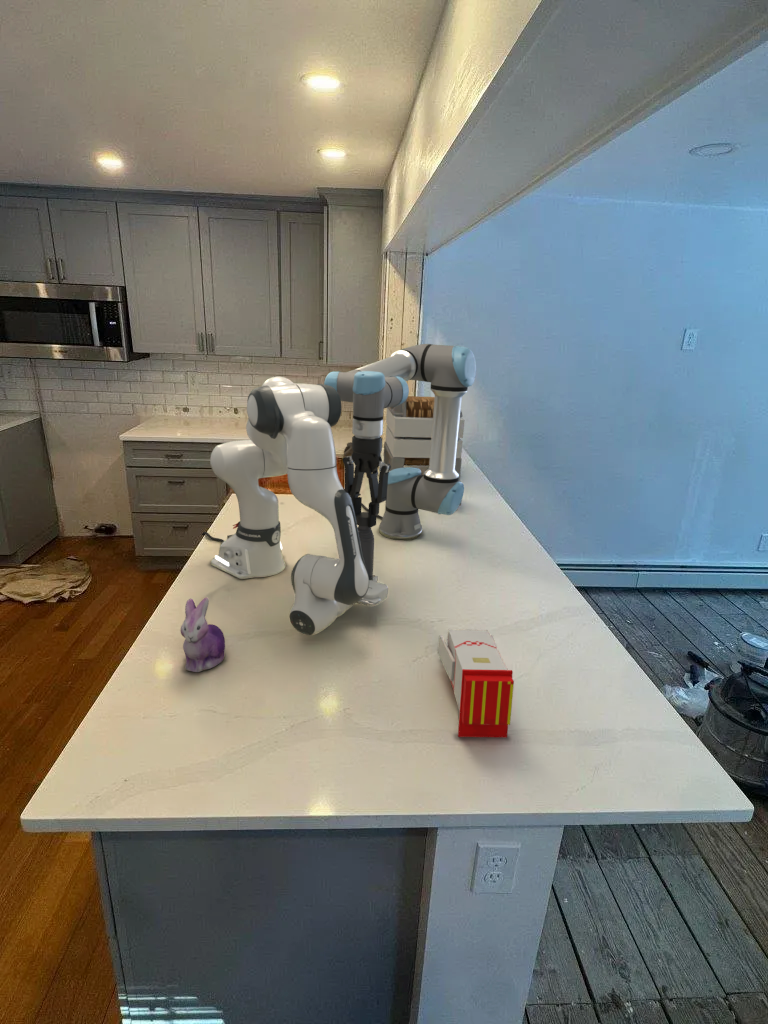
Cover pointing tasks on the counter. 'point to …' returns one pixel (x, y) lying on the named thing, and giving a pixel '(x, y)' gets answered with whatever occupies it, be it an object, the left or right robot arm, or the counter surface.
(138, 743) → the counter surface
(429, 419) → the white wooden crate
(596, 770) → the counter surface
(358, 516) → the cap
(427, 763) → the counter surface
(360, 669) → the counter surface
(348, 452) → the grey lumpy piece
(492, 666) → the toy
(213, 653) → the figurine
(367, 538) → the bottle
